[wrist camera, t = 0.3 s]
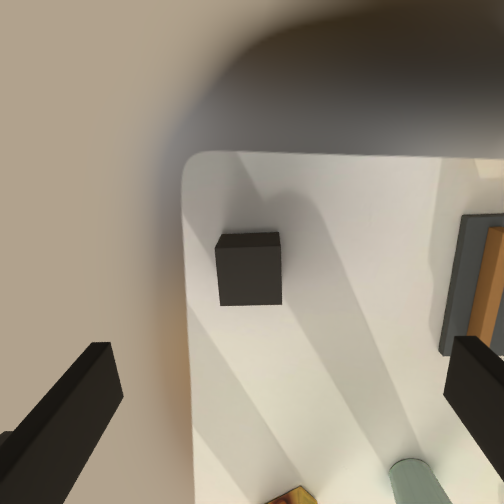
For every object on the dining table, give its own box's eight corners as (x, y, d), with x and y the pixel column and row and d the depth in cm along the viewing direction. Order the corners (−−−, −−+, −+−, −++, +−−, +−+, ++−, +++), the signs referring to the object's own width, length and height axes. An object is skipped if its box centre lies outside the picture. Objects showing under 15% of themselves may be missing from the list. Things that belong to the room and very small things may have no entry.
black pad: (221, 234, 32) (214, 248, 28) (278, 231, 32) (280, 245, 28) (226, 286, 34) (220, 306, 30) (280, 284, 34) (282, 304, 30)
